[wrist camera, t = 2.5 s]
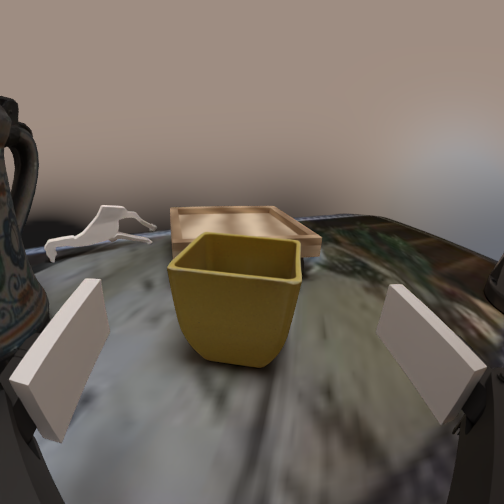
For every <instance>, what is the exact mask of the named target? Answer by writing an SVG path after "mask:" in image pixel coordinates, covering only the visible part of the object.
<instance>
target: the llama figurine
mask: <svg viewBox="0 0 504 504" xmlns="http://www.w3.org/2000/svg"><path fill="white" fill-rule="evenodd" d="M132 217H133V218H135V219H137V220H138V221H139V222H140V223H142V224H143V225H145V226H147V227H149V228H150V229H151V231H152V230H153V232H154V230H155V229H156V228H157V227H155V226H154V225H151V224H149V223H147V222H145V221H144V220H142V219H141V218H140V217H139V216H138V214H137V213H135V212H129V211H127V210H126V209H125V208H124V207H123V206H108V205H107V206H106V205H101V207H100V209H99V211H98V213H97V215H96V217H95V218H94V219H93V220H92V222H91V223H90V224H89V225H88V226H87V228H86V229H85V230H84V231H83V232H82V233H80V234H78V235H77V236H66V237H60V238H55V239H50V240H48V241H47V243H46V245H45V250H46V254H47V256H48V257H49V258H50V261H51V262H55V256H56V255H57V252H56V250H55V248H56V247H62V246H74V247H77V246H86V245H91V244H95V243H98V242H102V241H106V240H109V241H111V242H113V241H116V240H117V239H126V240H134V241H141V242H147V243H148V244H151V243H152V241H151V240H150V239H148V238H145V237H139V236H134V235H129V234H125V233H121V232H118V228H119V224H118V220H120V219H123V218H132ZM152 224H153V223H152Z"/></svg>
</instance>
